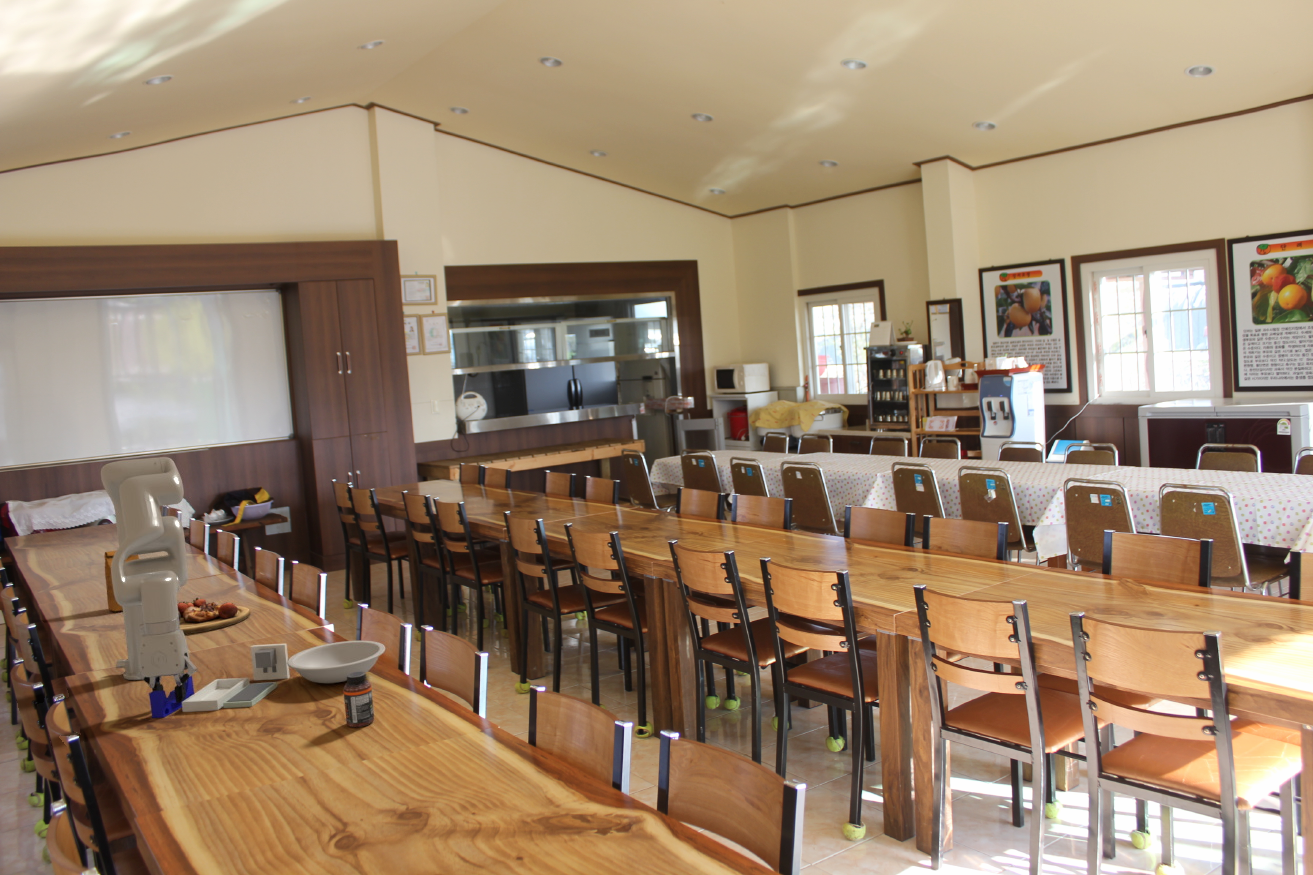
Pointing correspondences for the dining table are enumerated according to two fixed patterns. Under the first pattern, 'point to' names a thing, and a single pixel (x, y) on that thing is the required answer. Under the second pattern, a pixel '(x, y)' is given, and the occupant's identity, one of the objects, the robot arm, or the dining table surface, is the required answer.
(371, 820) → the dining table surface
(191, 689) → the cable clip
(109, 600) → the coffee package
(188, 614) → the wooden plate with food
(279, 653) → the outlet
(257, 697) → the phone
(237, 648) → the dining table surface
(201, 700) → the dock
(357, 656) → the soup bowl
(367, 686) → the supplement bottle
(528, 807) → the dining table surface
